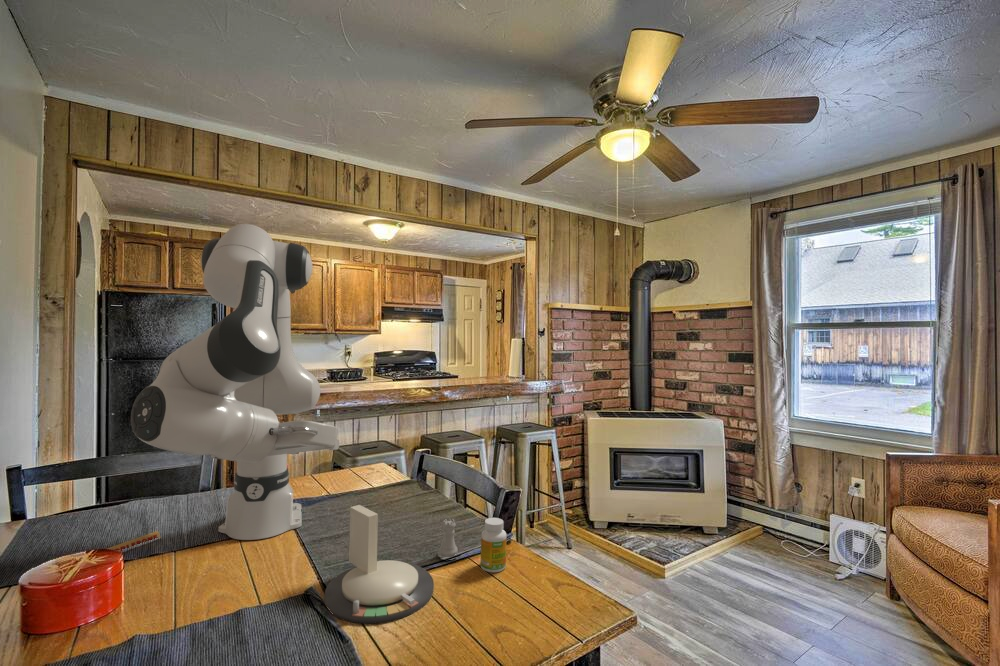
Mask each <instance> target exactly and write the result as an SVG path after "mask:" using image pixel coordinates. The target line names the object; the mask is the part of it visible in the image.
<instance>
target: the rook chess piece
mask: <svg viewBox="0 0 1000 666" xmlns="http://www.w3.org/2000/svg"><path fill="white" fill-rule="evenodd" d="M456 526H457V524H456V522H455V519H454V518H452V519H451V518H448V519H447V518H444V520H443V521H442V523H441V528H442V531H441V532H442V541H441V544H440V547H439V548H438V550H437V551H438V553H439V554H440V555H441V556H444V557H452V556H454V555H455V554H456V553H458V550H459V549H458V547H457V544H456V543H455V532H456V531H455V527H456Z"/></svg>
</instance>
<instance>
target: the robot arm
mask: <svg viewBox="0 0 1000 666" xmlns="http://www.w3.org/2000/svg"><path fill="white" fill-rule="evenodd" d="M200 265H201V269H202V272H203V275H202V277H203V279H202V281H203V286H204V288H205V290H206V291H207V292H208V293H207V294H209V296H211V298H213V299H214V300H215V301H216V302H218V303H219V304H221V305H223V306H225V307H228V308H232V309H234V310H233V311H232V312H230V313H229V314H227V315H226V316H225V317H223V318H221V320H219V321H217V322H216V324H214V325H213V326H211V327H210V328H209V329H206V330H205V331H204V332H202V333H200V334H199V335H197V336H196V337H194V338H192V339H191V340H190V341H188V342H186V343H185V344H183V345H182V346H180V347H179V348H177V349H175V350H174V351H173V352H171V353H170V354H169V355H167V357H165V358H164V359H163V360H162V362H161V363H160V366H159V368H158V375H157V377H156V378H155V379H154V380H153V382H152V383H151V384H150V385H148V386H146V387H145V388H144V389H143V390H141V391H140V392H139V394H138V395H137V396H136V398H135V400H134V401H133V404H132V408H131V412H130V426H131V430H132V432H133V434H134V435H135V436H136V438H138V439H139V440H140V441H141V442H143V443H146V444H147V445H150V446H151V447H155V448H156V449H157V448H158V449H161V450H164V451H170V452H173V453H178V454H184V455H192V456H206V455H210V458H211V459H215V460H225V461H231V462H236V473H235V474H234V479H233V483H234V486H233V487H234V488H233V489H234V491H233V492H232V493H230V495H229V496H228V497H227V501H226V510H225V511H226V513H225V521H224V523H222V524H221V525H219V526H218V530H217V532H218V533H222V534H225V535H227V536H228V537H229V538H231V539H234V540H242V541H252V540H261V539H262V540H263V539H268V538H271V537H276V536H279V535H281V534H283V533H285V532H288V531H290V530H294V529H297V528H301V526H302V525H303V523H302V522H303V521H302V519H303V517H302V516H303V515H302V514H303V513H302V512H301V509H302V503H299V502H294V488H292V486H291V484H290V483H289V482H290V472H289V469H290V468H289V464H288V455H299V454H300V453H306V452H315V451H316V452H317V451H324V450H328V451H336V450H339V447H340V440H339V439H338V428H337V426H336V425H331V424H328V423H323V422H318V421H311V420H304V419H303V420H300V419H299V420H290V421H285V422H284V421H283V422H280V421H279V419H278V415H294V414H299V413H303V412H309V411H311V410H312V409H314V407H315V406H316V405H317V403H318V401H319V400H320V398H321V397H320V396H321V386H320V383H319V380H318V378H317V376H315V375H314V374H313V373H312V372H310V371H309V370H308V369H306V368H305V367H304V366H303V365H302V364H301V363H300V362H299V359H298V358H297V356H296V355H295V352H294V348H293V344H292V333H291V331H292V330H291V327H292V325H291V324H292V323H291V322H292V319H291V317H292V315H291V314H292V313H291V312H292V311H291V309H292V305H291V303H292V302H291V295H292V294H295V293H296V291H299V290H302V289H303V288H304V287H305V286H307V285H308V284H309V281H310V279H311V277H312V274H313V268H314V267H313V260H312V258H311V256H310V251H309V250H308V249H307V248H306V247H305V246H304V245H301V244H298V243H295V242H288V243H287V242H282V241H277V240H273V239H272V237H271V235H270V234H269V233H268V231H266V230H265V229H263V228H262V227H260V226H257V225H255V224H250V223H241V224H236V225H234V226H232V227H231V228H229V229H228V230H227V231H226V232H225V233H224V234H223V235H222V236H221V237H219V238H218V237H217V238H213V239H211V240H210V241H208V242H206V243H205V244H204V246H203V248H202V253H201V256H200ZM290 293H291V295H290Z"/></svg>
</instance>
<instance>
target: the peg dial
mask: <svg viewBox="0 0 1000 666" xmlns="http://www.w3.org/2000/svg"><path fill="white" fill-rule="evenodd" d="M349 513H350V514H349V543H348V544H349V546H348V547H349V550H348V553H349V554H348V562H349V563H351V564H352V565H354V567H356V568H354V567H353V568H354V569H352V570H351V571H349V572H348V573H347V574H346V575H345V576H344V578H343V580H342V593H343V595H344V597H345V598H347V599H348V600H350V601H352V602H353V601H355V600H359V604H361V605H384V604H389V603H393V602H396V601H399V600H401V599H403V600H404V601H406V602H407V603H409V604H410V605H412V604H414V601H415V600H414V599H413V598H411V597H410V596H408V595H410V594H411V593H412V592H413V591H414V590H415V589H416V587H417V585H418V572H417V570H416V569H415V568H414V567H413V566H411V565H409V564H407V563H408V562H406V563H404V562H405V561H400V560H393V559H392V560H390V559H389V560H388V559H386V560H378V532H379V528H378V527H379V514H378V513H377V512H374V511H373V510H370V509H368V508H367V507H365V506H363V505H361V504H357V505H353V506H350V509H349Z"/></svg>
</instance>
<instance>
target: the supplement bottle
mask: <svg viewBox="0 0 1000 666" xmlns="http://www.w3.org/2000/svg"><path fill="white" fill-rule="evenodd" d="M504 525H505V524H504V520H503V519H501V518H499V517H489V518H486V519H485V520H484V529H483V531H482V532H481V535H480V536H481V537H480V568H481V570H483V571H485V572H487V573H499V572H502V571H503V570H505V569H506V566H507V539H508V538H507V532H506V531H505V530H504Z"/></svg>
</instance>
